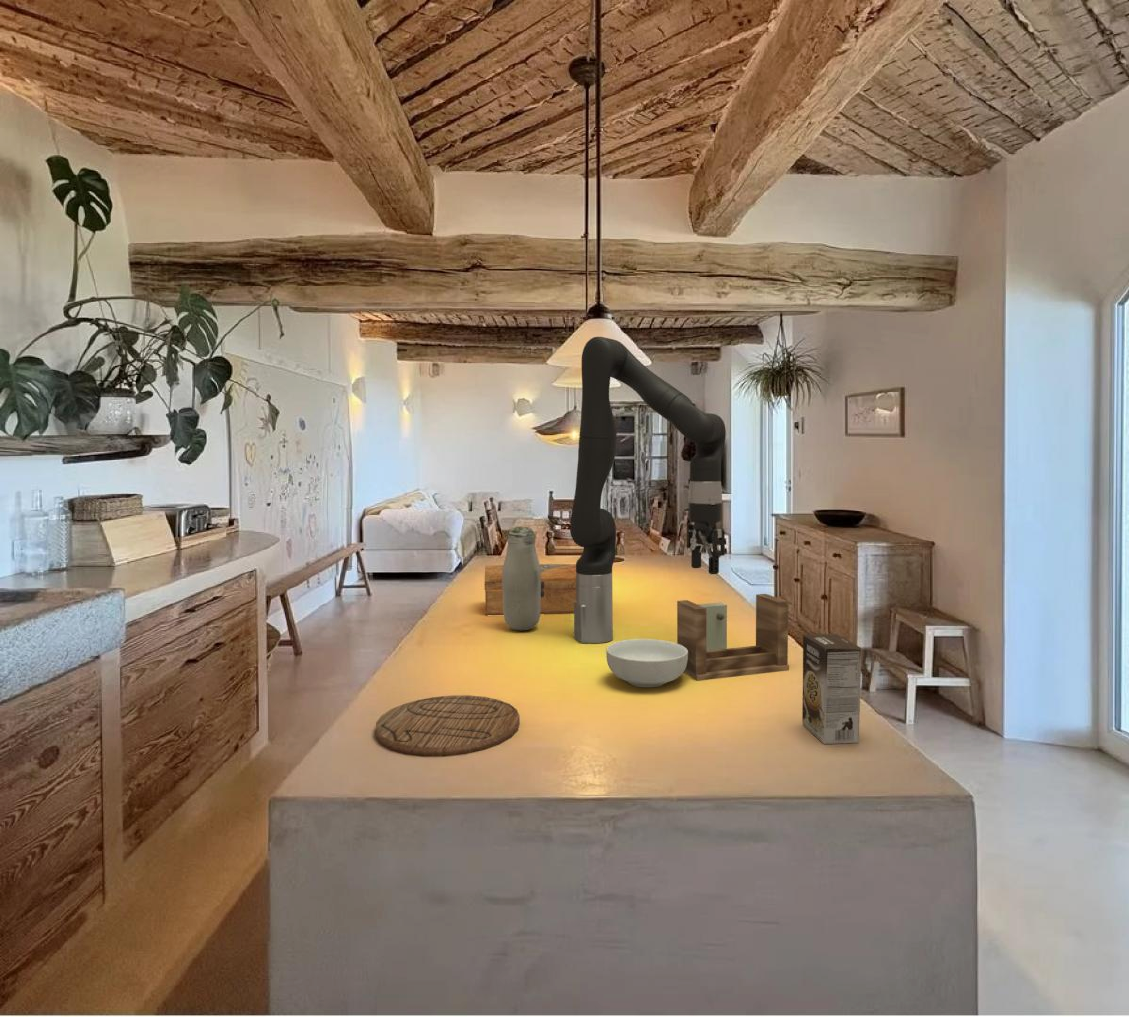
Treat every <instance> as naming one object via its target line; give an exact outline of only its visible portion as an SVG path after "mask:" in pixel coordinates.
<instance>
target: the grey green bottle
mask: <svg viewBox="0 0 1129 1017" xmlns="http://www.w3.org/2000/svg"><path fill="white" fill-rule="evenodd" d="M505 554H506V555H505V558H504V562H503V564H502V565H503V570H502V590H503V614H504V616H503V617H504V618H503V619H504V621H505V623H506V625H507V626H508V627H509V628H511V629H512V630H515V631H519V632H520V631H524V632H525V631H528V630H529V631H530V630H532V629H534V628H535V627H536V626H537V625H538V623H539V621H540V617H541V615H540V613H541V569H540V564H541V563H540V560H539V557H538V554H537V548H536V534H535V531H534V530H533V529H532V528H531V527H528V526H515V527H511V528H510V530H509V531H508V533H507V548H506V553H505Z"/></svg>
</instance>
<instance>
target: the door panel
mask: <svg viewBox="0 0 1129 1017" xmlns="http://www.w3.org/2000/svg"><path fill="white" fill-rule="evenodd" d="M696 604H697V603H696ZM697 605H700V606H702V607H704V608H706V651H709V650H719V649H728V643H727V642H728V639H727V638H728V627H727V626H728V610H727V609H728V604H726V603H723V602H721V601H720V602H711V603H710V602H709V603H698V604H697Z"/></svg>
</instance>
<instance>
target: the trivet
mask: <svg viewBox="0 0 1129 1017" xmlns="http://www.w3.org/2000/svg"><path fill="white" fill-rule="evenodd" d="M520 721H521V720H520V713H519V711H518V709H517V708H516V707H514V706H513V705H511V704H510V703H508V702H506V701H503V700H501V699H498V698H492V697H487V696H479V695H467V694H466V695H465V694H464V695H462V694H461V695H459V694H458V695H456V694H455V695H444V696H433V697H427V698H422V699H417V700H413V701H410V702H406V703H403V704H401V705H397V706H396V707H393V708H391V709H389V710H388V711H386V712H385V713H383V714H382V715H381V716H380V717H379V718H378V720H377V721H376V723H375V724H376V725H375V738H376V740H377V741H378V742H379V744H380V745H381V746H383V747H385V748H387V749H388V750H390V751H392V752H396V753H400V754H403V755H409V756H417V757H425V758H426V757H428V758H429V757H431V758H432V757H439V758H440V757H453V756H462V755H468V754H472V753H478V752H482V751H486V750H489V749H491V748H493V747H496V746H499V745H501V744H503V743H505V742H507V741H508V740H510V739H511V738H512V737H513V736H514V735H515V734H516V733H517V732H519V728H520V725H521V724H520V723H521V722H520Z"/></svg>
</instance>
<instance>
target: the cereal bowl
mask: <svg viewBox="0 0 1129 1017" xmlns="http://www.w3.org/2000/svg"><path fill="white" fill-rule="evenodd" d="M605 653H606V657H605V658H606V663H607V666H608V668H609V670H610V671H611V672H612V674H614V675H615V676H616V677H618V679H621V680H622V681H626V682H627V683H628V684H630V685H631V686H633V687H640V688H656V687H657V688H658V687H661V685H662V686H664V685H665V684H666V683H670V682H672V681H674V680H676V679H678V678H679V677H681V675H683V673H684V670H685V668H686V665H687V660H688V650H687V649H686V648H685V647H684V646H682V645H679V644H677V642H673V641H669V640H664V639H655V638H633V639H632V638H631V639H623V640H619V641H615V642H612V643H611V644H609V645H607V647H606V652H605ZM663 684H664V685H663Z"/></svg>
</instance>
